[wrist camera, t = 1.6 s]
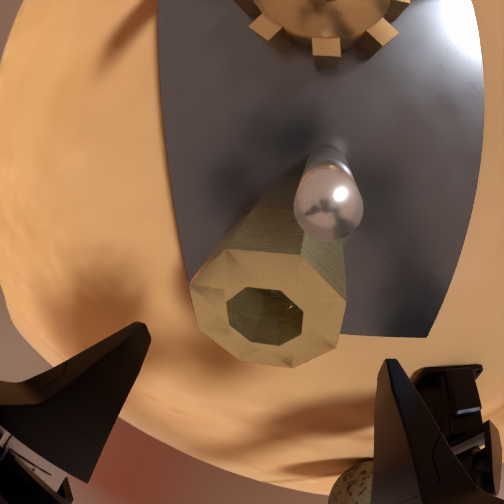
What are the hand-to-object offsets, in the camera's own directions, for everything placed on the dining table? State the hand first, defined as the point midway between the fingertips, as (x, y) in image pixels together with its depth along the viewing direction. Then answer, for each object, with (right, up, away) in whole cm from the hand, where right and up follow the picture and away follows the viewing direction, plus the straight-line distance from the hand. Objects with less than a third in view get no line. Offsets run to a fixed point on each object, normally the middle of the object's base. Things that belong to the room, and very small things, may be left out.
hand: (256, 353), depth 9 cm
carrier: (+3, +9, +2) cm, 10 cm away
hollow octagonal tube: (+1, +3, +5) cm, 6 cm away
